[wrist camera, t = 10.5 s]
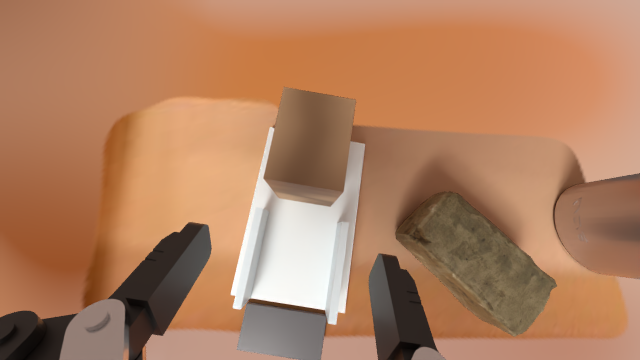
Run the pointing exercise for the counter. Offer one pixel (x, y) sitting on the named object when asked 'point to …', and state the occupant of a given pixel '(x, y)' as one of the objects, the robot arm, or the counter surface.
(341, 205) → the white tray
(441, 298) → the counter surface
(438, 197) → the stone block
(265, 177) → the walnut block
